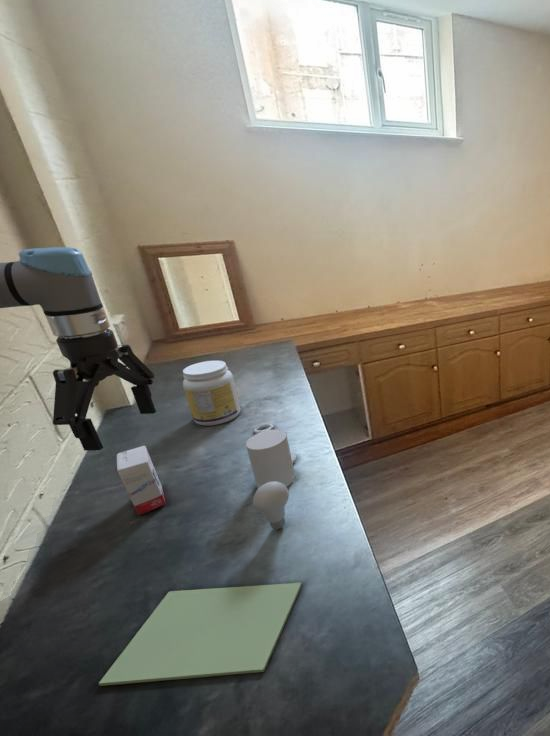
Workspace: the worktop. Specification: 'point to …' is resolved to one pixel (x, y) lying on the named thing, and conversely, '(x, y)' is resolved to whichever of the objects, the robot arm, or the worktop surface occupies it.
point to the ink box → (140, 479)
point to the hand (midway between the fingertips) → (123, 429)
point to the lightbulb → (272, 502)
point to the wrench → (257, 430)
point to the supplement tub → (211, 393)
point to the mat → (206, 634)
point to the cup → (271, 457)
